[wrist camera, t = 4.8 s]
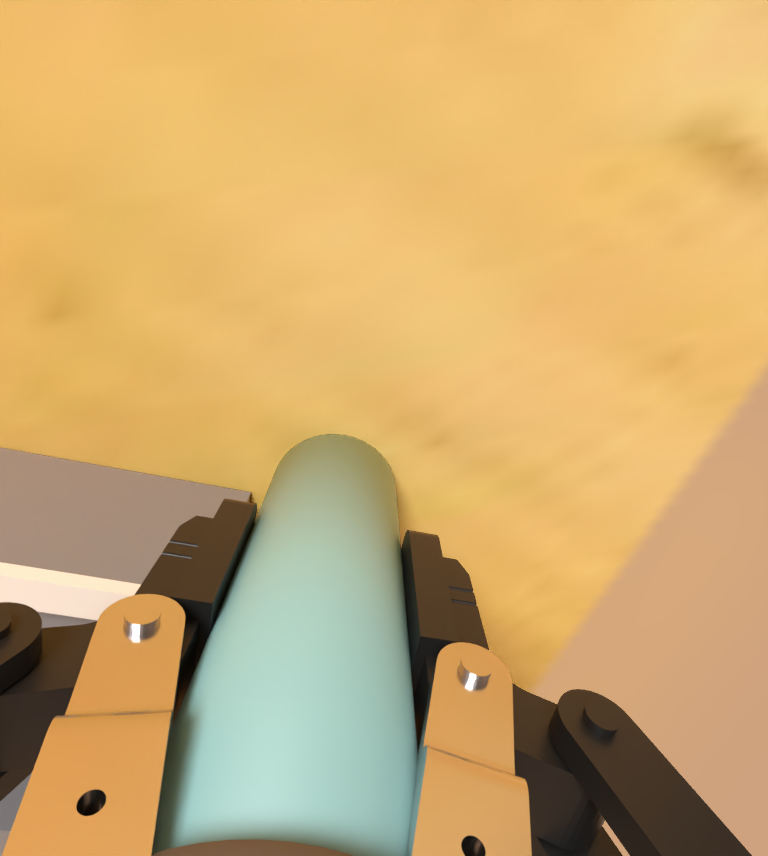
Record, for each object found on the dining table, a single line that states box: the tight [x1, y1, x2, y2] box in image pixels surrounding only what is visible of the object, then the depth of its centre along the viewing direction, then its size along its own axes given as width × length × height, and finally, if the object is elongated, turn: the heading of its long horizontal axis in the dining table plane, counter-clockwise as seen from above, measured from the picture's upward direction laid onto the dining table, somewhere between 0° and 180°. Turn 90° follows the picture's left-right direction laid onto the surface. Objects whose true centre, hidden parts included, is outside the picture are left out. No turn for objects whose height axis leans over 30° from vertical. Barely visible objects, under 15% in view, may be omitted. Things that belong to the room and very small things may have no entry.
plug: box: [151, 434, 418, 856], centre depth 10 cm, size 4×4×12 cm
